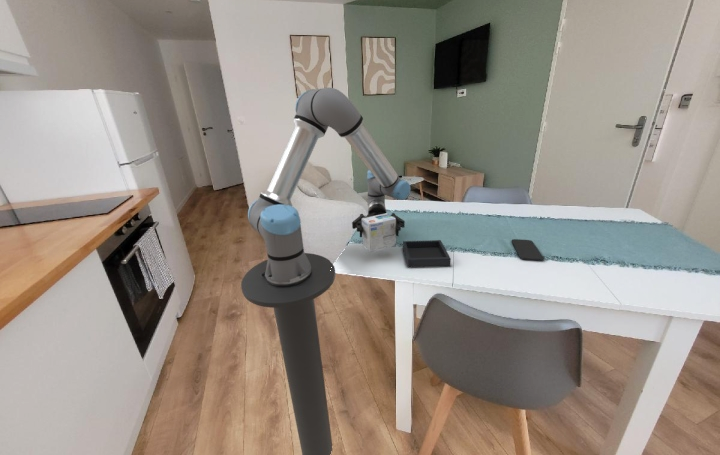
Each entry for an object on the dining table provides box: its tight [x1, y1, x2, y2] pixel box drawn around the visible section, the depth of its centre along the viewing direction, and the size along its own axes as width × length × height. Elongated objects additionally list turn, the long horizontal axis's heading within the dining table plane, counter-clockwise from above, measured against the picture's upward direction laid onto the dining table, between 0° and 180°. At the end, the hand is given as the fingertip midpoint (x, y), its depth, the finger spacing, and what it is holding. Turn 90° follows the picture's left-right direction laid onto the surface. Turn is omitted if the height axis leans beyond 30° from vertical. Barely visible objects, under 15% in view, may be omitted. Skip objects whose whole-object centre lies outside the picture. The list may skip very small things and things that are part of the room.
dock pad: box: [402, 239, 452, 268], centre depth 105 cm, size 14×14×3 cm
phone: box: [511, 238, 545, 262], centre depth 106 cm, size 7×1×15 cm
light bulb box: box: [361, 212, 397, 253], centre depth 103 cm, size 11×7×11 cm, turn 115°
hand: (379, 233), depth 100 cm, fingers closed on light bulb box, 12 cm apart
